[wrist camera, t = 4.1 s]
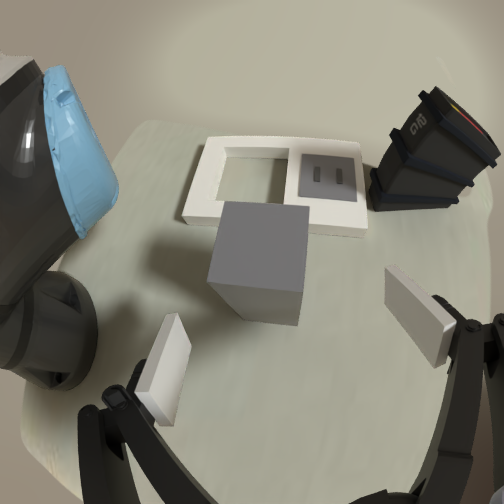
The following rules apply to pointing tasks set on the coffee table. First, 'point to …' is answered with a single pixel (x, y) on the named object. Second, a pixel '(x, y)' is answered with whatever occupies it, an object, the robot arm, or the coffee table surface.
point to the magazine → (431, 157)
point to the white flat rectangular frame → (290, 180)
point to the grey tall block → (261, 260)
